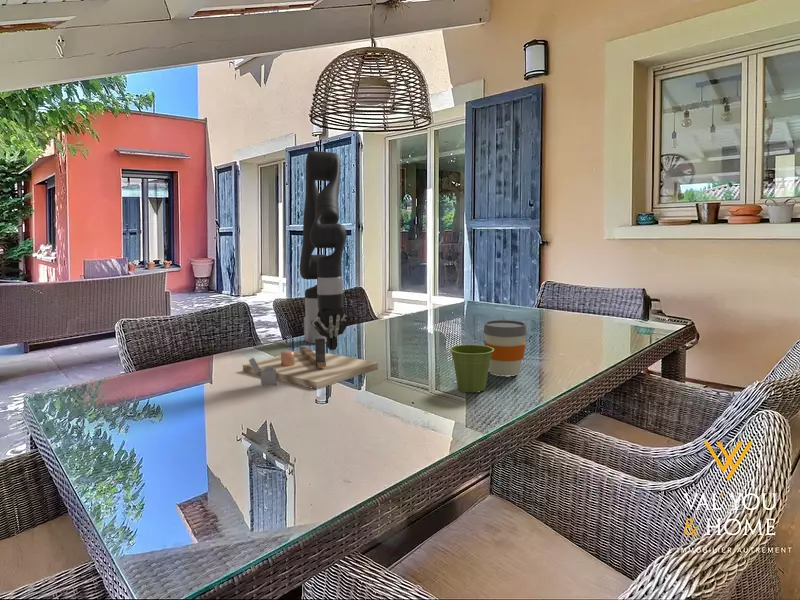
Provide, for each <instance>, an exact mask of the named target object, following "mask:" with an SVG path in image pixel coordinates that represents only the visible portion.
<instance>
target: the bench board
mask: <svg viewBox="0 0 800 600" xmlns="http://www.w3.org/2000/svg"><path fill="white" fill-rule="evenodd" d="M310 350H311V351H313V352H314V353H315V350H312V349H310ZM315 354H316V353H315ZM255 361H256V360H255ZM294 361H295V365H293V366H281V354H279V355H277V356H273V357H269V358H265V359H261V360H257V361H256V363H257V365H258V366H259V368H260V370H265V366H271V367H273V369H276V380H277V379H278V381H281V380H282V381H281V382H285V383H290V384H293V385H296V386H301V385H303V386H302V387H305V386H307V387H306V388H309V387H312V388H311V389H313V388H320V389H322V388H321V387H323V388H326V387H329V386H331V385H332V386H333V385H334V384H337V383H340V382H343V381H346V380H348V379H353V378H356V377H357V376H361V375H364V374H367V373H369V372H372V371H375V370H378V367H379V365H378V362H376V361H371V360H367V359H366V360H365V359H361V358H356V357H355V358H354V357H351V356H350V357H348V356H345V355H339V354H334V353H328V352H325V361H326V367H320V368H318V367H316V365H314V364H313V363H312V362H311V361H310V360H309V359H307V358H306V357H305V356H304V355H303V354H301V353H300V350H296V351H294ZM242 372H245V373H248V374H253V375H258V376H260V377H261V371H260V372H259V373H257V374H256V372H255V371H254V369H253V367H252V366H251V364H250V362H249V363H245V364H242ZM328 385H329V386H328ZM325 386H326V387H325Z"/></svg>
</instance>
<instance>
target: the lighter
mask: <svg viewBox="0 0 800 600" xmlns="http://www.w3.org/2000/svg"><path fill="white" fill-rule="evenodd" d="M248 362H249V363H250V364H251V366H252V367H253V369H254V371H255V372H256V374H257V373H259V372H260V371H261V376H260V387H270V386H269V385H274V386H277V384H278V383H277V379H276V369H273V367H271V366H265V370H260V368H259V366H258V365H257V363H256V359H255V358H254V357H252V358H249V359H248ZM256 374H255V375H256Z"/></svg>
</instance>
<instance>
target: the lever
mask: <svg viewBox="0 0 800 600" xmlns="http://www.w3.org/2000/svg"><path fill="white" fill-rule="evenodd" d="M325 344H326V343H325V339H315V344H314V346H315V347H314V348H315V349H314V350H313V351H315V353H316V354H315V353H314V352H313V351H311V350H312V349H310V346H309V345H300V346H299V351H300V353H301V354H303V355H304V356H305V357H306V358H307V359H309V360H310V361H311V362H312V363H313V364H314V365H316V367H318V368H320V367H326V361H325V353H326V345H325Z"/></svg>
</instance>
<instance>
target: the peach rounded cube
mask: <svg viewBox="0 0 800 600" xmlns="http://www.w3.org/2000/svg"><path fill="white" fill-rule="evenodd" d="M294 352H295V351H294V350H282V351H281V352H280V355H281V366H293V365H295V361H294Z"/></svg>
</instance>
